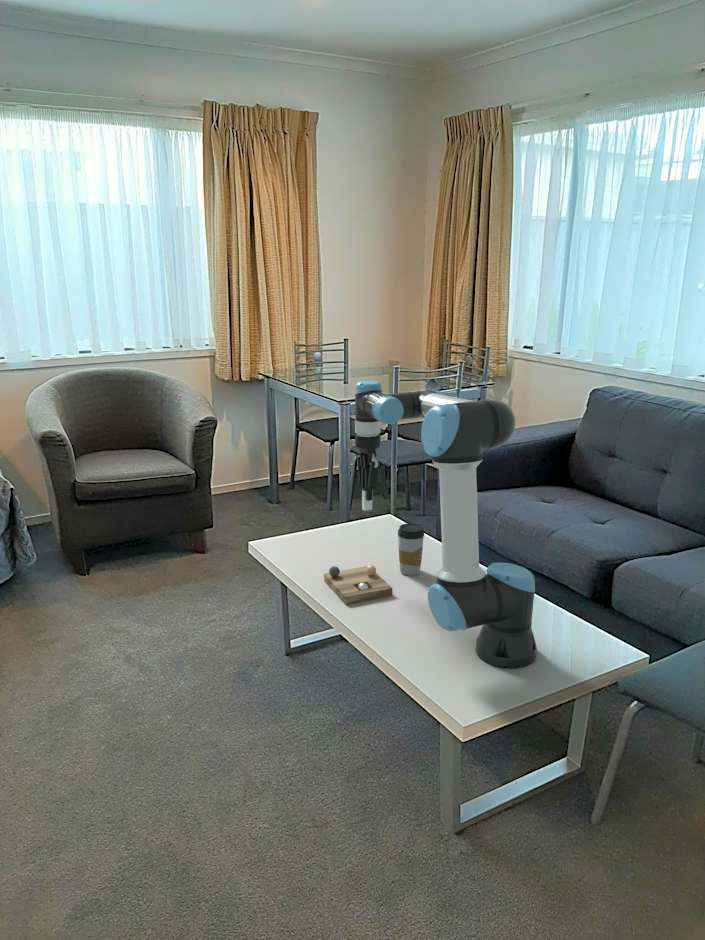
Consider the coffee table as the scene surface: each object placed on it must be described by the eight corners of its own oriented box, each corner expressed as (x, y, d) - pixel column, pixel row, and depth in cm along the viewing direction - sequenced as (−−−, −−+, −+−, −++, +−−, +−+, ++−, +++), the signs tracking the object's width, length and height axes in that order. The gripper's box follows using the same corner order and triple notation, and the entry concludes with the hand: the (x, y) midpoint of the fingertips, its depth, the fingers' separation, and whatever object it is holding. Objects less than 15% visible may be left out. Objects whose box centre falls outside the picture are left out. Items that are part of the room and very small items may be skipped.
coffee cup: (413, 579, 230) (415, 534, 226) (391, 572, 235) (392, 528, 231) (428, 570, 237) (429, 526, 232) (406, 564, 242) (407, 520, 237)
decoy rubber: (341, 577, 226) (341, 567, 225) (331, 579, 225) (331, 569, 224) (337, 573, 229) (337, 563, 228) (327, 575, 227) (327, 565, 226)
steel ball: (371, 591, 219) (368, 580, 220) (360, 593, 218) (358, 582, 219) (367, 594, 222) (365, 583, 223) (357, 596, 221) (354, 585, 222)
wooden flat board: (392, 595, 220) (392, 587, 219) (345, 604, 214) (345, 596, 213) (368, 573, 235) (368, 565, 234) (324, 581, 229) (324, 573, 228)
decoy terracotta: (377, 576, 227) (378, 566, 226) (368, 578, 226) (368, 568, 225) (373, 572, 230) (373, 562, 229) (364, 574, 228) (364, 564, 227)
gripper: (389, 437, 215) (387, 514, 222) (370, 427, 226) (369, 501, 233) (365, 440, 212) (364, 518, 219) (347, 430, 223) (347, 504, 230)
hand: (367, 509), depth 226 cm, fingers closed
